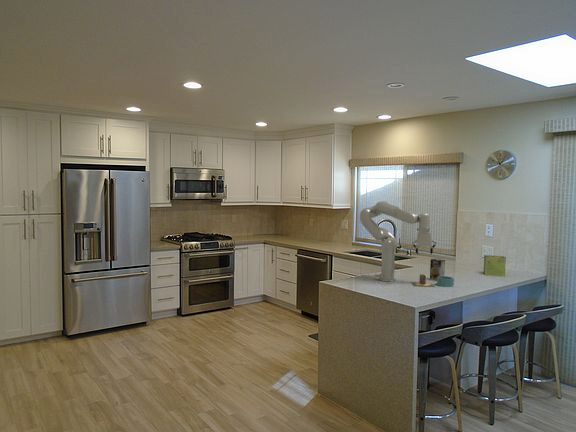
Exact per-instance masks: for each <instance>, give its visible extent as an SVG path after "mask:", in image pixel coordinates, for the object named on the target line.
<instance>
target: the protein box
mask: <svg viewBox="0 0 576 432" xmlns="http://www.w3.org/2000/svg"><path fill="white" fill-rule="evenodd" d="M506 260H507V259H506V256H504V255H492V254H491V255H489V254H488V255H487V254H486V255H485V254H484V257H483V275H484V276H491V277H503V276H504V277H506Z"/></svg>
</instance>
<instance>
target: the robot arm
mask: <svg viewBox="0 0 576 432" xmlns="http://www.w3.org/2000/svg"><path fill="white" fill-rule="evenodd" d="M381 215H385V216H389V217H391V218H394V219H396V220H398V221H402V222H404V223H407V224H411V225H412V224H418V228H417V229H416V231H418V232H417V235H416V239H415V240H413V241H412V242H411V245H412V246H413V247H414V249H415V253H416V254H417V255H418V254H419V247H430V249H429V250H430V251H429V252H430V255H432V254H433V252H434V251H433V249H434V248H435V247H436V245H437V244H438V243H437V242H436V241H434V240H433V239H432V233H431V232H430V230H431V229H430V227H431V225H430V223H431V221H430V218H431V217H430V213H424V212H423V213H418V212H417V213H416V212H408V211H406V210H403V209H401V208H400V207H399V206H397V205H394V204H390V203H388V202H387V201H382V200H381V201H378V202H376V204H375V205H372V206H370V207H364V208H363V209H362V210H361V211H360V213H359V222H360V223H361V225H362V226H363V227H364V229H366V231H367V232H368V233H369V234H370V235H371V236H372V237H373V238H374V239H375V240H376V241H381V246H380V250H381V272H380V273H379V274H374V277H375V278H378V280H379V281H382V282H395V281H397V278H395V260H396V259H395V258H396V257H395V250H396V249H397V248H398V246H399V242H398V240H397V239H396V237H395V236H394V235H393V234H392V233H391V232H390V231H389V230H388V229H387V228H385V227H380V226H379V225H378V224H377V222H375V221H374V220H373V218H376V217H378V216H381ZM415 243H416V244H415ZM432 244H433V245H432Z"/></svg>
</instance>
